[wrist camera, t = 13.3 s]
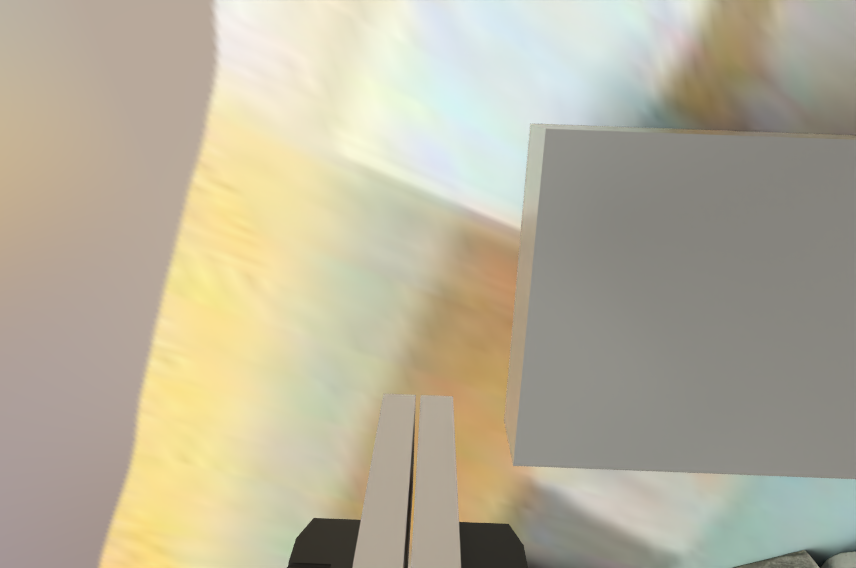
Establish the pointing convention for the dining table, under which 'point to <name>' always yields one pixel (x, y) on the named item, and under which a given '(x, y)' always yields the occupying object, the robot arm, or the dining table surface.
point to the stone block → (785, 561)
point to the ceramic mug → (841, 561)
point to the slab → (686, 302)
